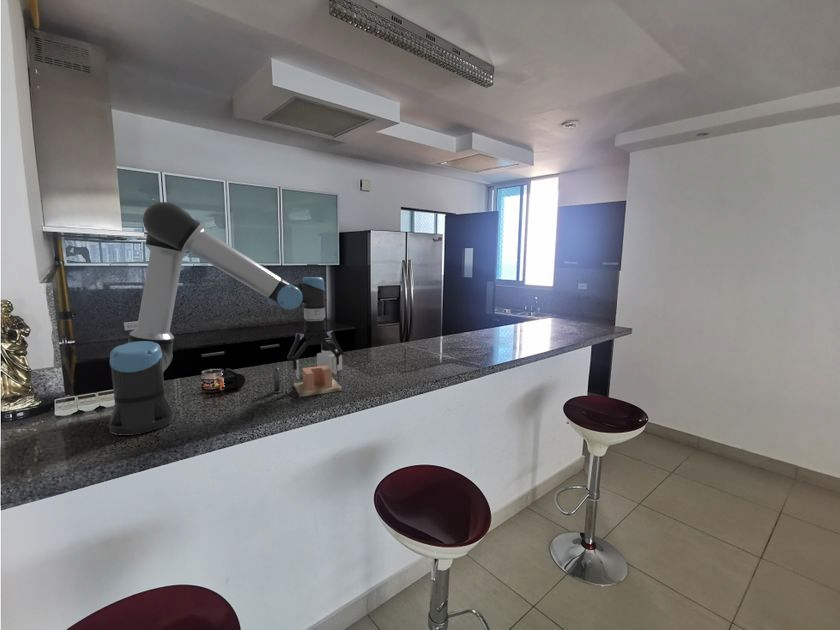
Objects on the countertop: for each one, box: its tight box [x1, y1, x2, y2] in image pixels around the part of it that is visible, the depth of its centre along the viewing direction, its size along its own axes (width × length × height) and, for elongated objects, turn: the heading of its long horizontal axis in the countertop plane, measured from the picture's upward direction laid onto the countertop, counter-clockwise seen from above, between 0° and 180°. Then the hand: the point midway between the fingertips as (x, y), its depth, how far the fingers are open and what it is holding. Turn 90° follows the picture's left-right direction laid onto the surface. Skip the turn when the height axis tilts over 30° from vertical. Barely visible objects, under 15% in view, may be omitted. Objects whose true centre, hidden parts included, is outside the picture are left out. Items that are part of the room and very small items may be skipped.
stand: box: [272, 367, 282, 395], centre depth 139 cm, size 3×3×9 cm
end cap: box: [220, 368, 246, 394], centre depth 143 cm, size 10×7×7 cm
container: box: [316, 339, 343, 374], centre depth 167 cm, size 8×8×13 cm
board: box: [293, 377, 343, 398], centre depth 144 cm, size 15×13×1 cm
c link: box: [301, 365, 333, 391], centre depth 144 cm, size 9×9×6 cm
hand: (316, 375), depth 144 cm, fingers open, 13 cm apart
